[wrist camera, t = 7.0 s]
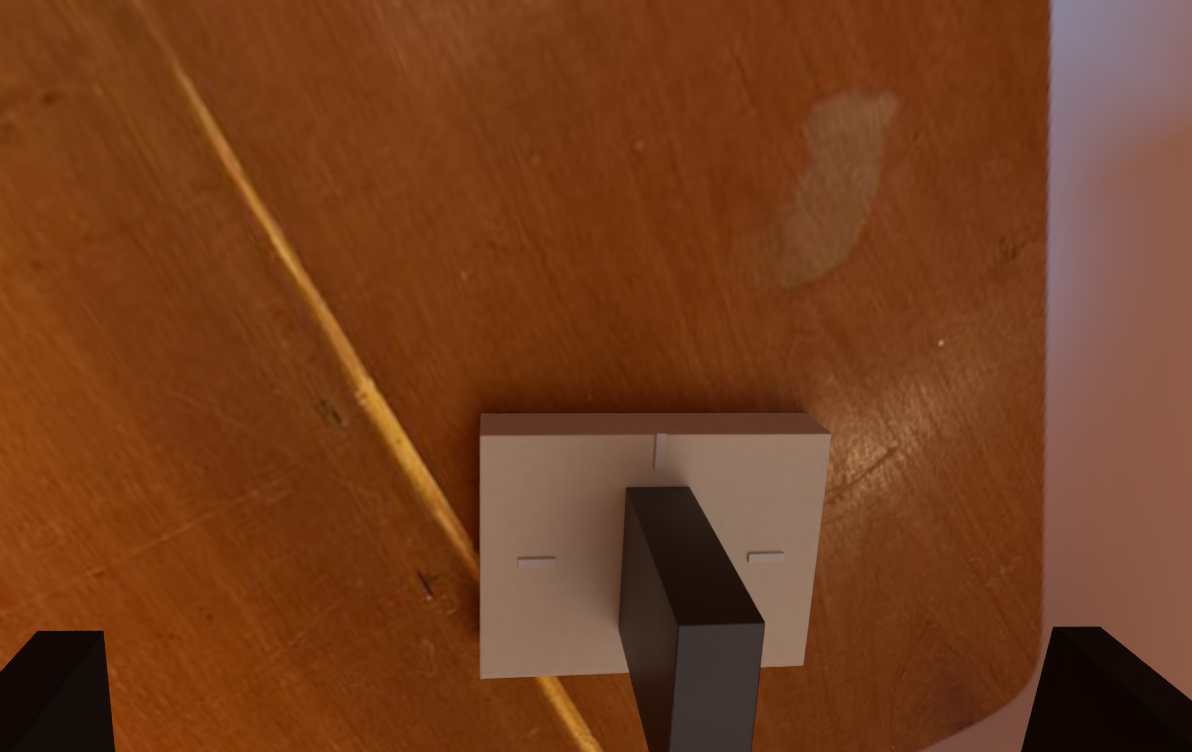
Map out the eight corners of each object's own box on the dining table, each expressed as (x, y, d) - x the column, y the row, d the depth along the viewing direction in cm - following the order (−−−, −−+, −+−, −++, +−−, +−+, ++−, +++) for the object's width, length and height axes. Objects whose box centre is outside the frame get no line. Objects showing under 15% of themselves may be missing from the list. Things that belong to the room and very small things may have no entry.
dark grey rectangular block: (625, 486, 30) (679, 630, 22) (689, 486, 31) (769, 627, 22) (618, 630, 32) (665, 818, 23) (679, 628, 32) (748, 813, 23)
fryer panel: (808, 409, 33) (834, 432, 31) (783, 632, 36) (804, 671, 33) (480, 410, 32) (479, 434, 29) (480, 644, 34) (479, 684, 32)
